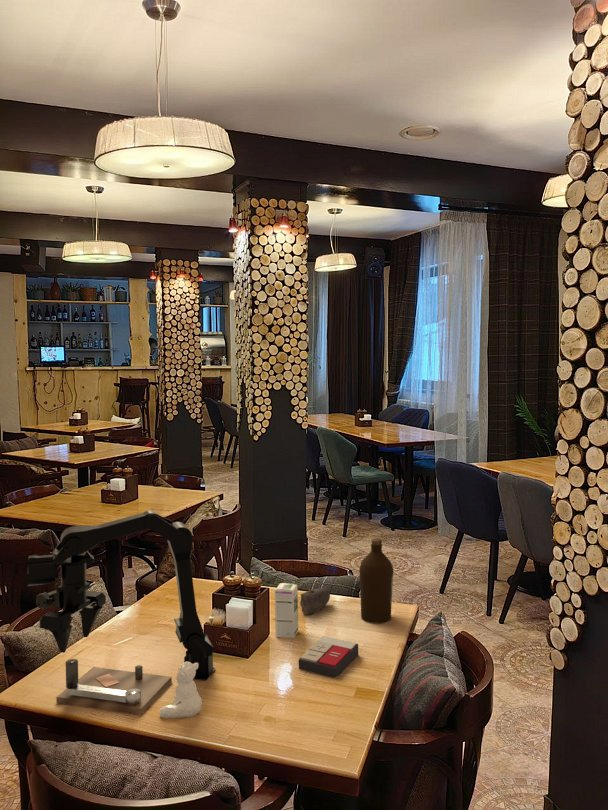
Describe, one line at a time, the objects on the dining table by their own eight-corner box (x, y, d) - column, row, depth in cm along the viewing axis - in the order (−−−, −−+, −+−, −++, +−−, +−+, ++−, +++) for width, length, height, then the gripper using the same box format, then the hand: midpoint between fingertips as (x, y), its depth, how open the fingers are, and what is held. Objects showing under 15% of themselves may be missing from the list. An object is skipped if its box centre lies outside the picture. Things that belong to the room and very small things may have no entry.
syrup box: (294, 638, 195) (294, 590, 194) (274, 637, 196) (274, 588, 195) (298, 631, 200) (298, 583, 199) (279, 629, 201) (279, 582, 200)
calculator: (297, 656, 175) (322, 633, 188) (298, 672, 176) (323, 648, 189) (335, 665, 170) (358, 641, 183) (336, 681, 171) (358, 656, 184)
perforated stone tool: (323, 601, 225) (323, 581, 224) (336, 605, 221) (336, 584, 221) (295, 614, 213) (295, 593, 213) (307, 618, 210) (307, 597, 209)
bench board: (171, 682, 168) (171, 665, 168) (141, 715, 152) (140, 696, 152) (93, 672, 173) (93, 655, 173) (56, 703, 158) (56, 684, 158)
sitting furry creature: (180, 698, 160) (179, 649, 159) (211, 705, 157) (211, 655, 156) (157, 717, 151) (156, 666, 151) (189, 725, 148) (189, 673, 147)
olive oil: (365, 625, 204) (365, 545, 203) (354, 613, 214) (355, 536, 213) (397, 622, 206) (398, 543, 205) (386, 610, 217) (386, 534, 215)
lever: (144, 697, 156) (143, 666, 156) (136, 705, 153) (136, 673, 152) (71, 688, 161) (70, 657, 160) (62, 695, 157) (62, 664, 157)
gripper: (68, 566, 171) (69, 626, 172) (18, 590, 153) (20, 656, 154) (106, 570, 168) (107, 631, 169) (60, 595, 150) (61, 662, 151)
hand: (74, 644), depth 161 cm, fingers open, 9 cm apart
